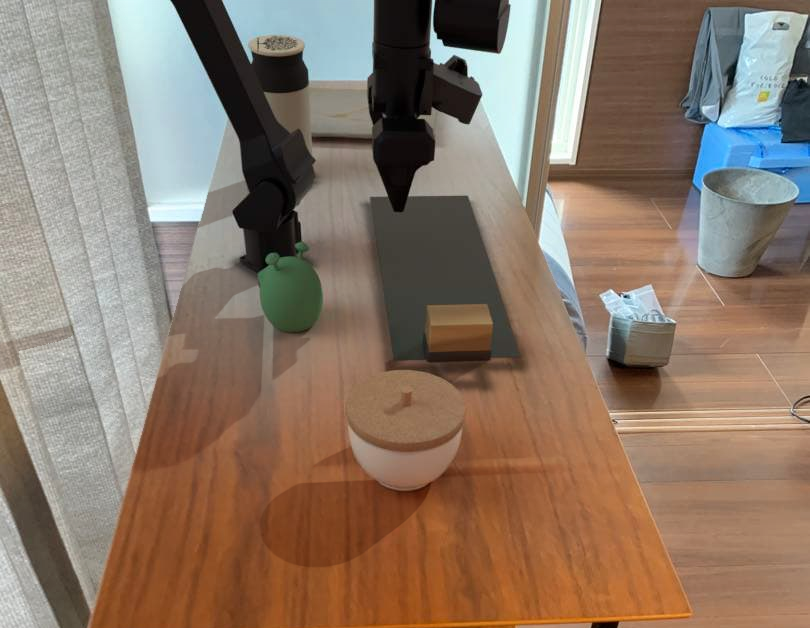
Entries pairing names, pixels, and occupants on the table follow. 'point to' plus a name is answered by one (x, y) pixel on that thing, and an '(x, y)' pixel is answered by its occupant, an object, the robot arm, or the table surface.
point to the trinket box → (405, 427)
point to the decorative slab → (345, 113)
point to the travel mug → (284, 80)
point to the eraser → (457, 332)
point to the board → (434, 269)
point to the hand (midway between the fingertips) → (396, 193)
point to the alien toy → (290, 291)
